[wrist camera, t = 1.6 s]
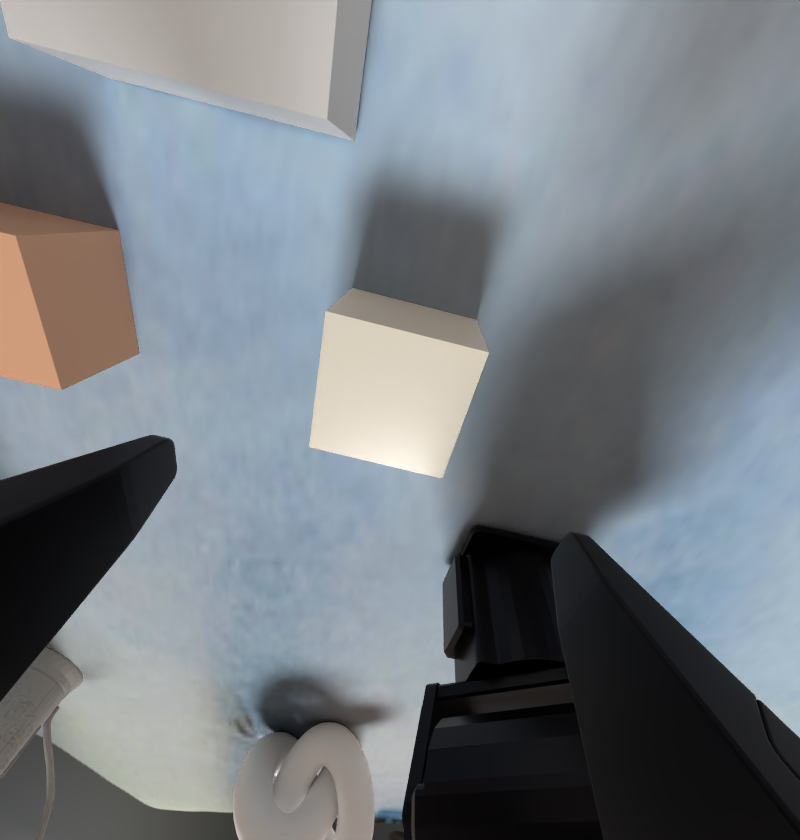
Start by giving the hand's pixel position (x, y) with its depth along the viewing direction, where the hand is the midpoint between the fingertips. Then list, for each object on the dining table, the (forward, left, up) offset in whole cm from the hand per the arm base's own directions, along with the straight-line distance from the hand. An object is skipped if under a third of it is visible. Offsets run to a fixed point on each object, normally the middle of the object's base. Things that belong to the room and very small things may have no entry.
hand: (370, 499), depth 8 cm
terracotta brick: (+14, 0, -9) cm, 16 cm away
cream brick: (0, 0, -9) cm, 9 cm away
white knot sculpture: (0, +39, -9) cm, 40 cm away
